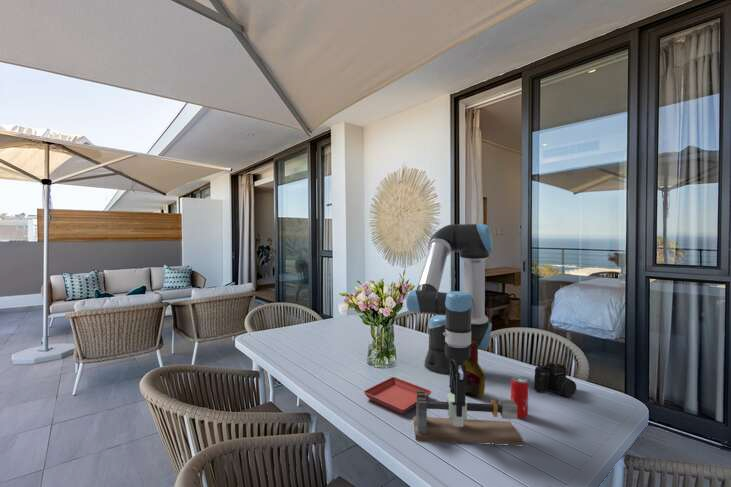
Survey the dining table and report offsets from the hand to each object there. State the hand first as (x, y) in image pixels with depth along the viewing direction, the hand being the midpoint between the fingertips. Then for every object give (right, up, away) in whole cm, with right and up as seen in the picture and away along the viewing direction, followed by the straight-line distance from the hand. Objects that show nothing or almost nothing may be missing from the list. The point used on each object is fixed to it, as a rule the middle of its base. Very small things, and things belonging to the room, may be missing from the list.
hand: (456, 420), depth 102 cm
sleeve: (0, +2, 0) cm, 2 cm away
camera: (+45, -4, +27) cm, 53 cm away
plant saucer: (-16, -4, +21) cm, 26 cm away
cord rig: (+2, -4, 0) cm, 5 cm away
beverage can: (+23, -4, +10) cm, 26 cm away
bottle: (+12, -3, +25) cm, 28 cm away
